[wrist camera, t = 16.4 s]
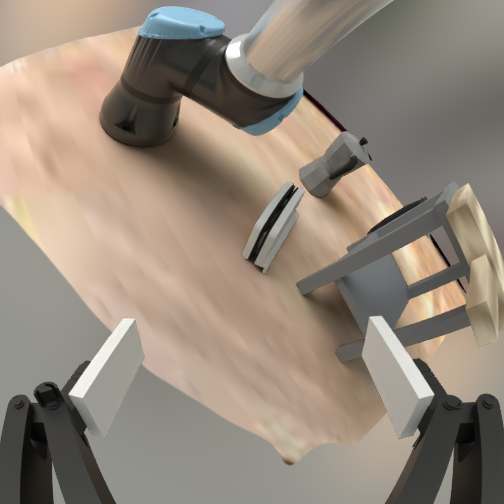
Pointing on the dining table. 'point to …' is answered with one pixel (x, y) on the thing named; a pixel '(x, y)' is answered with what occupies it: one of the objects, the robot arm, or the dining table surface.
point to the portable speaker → (397, 214)
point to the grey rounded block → (273, 226)
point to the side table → (394, 276)
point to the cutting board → (479, 266)
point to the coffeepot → (334, 164)
